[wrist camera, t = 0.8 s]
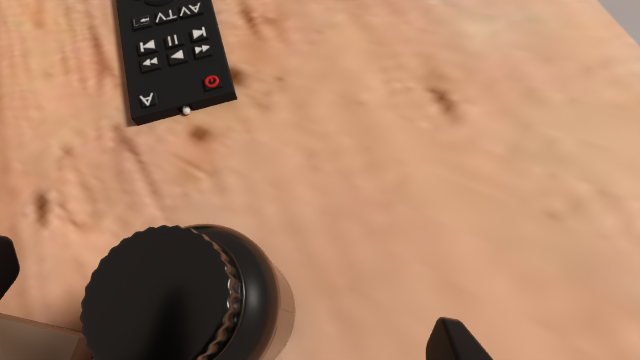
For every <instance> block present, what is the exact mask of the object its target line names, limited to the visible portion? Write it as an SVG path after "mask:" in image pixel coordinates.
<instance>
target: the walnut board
mask: <svg viewBox="0 0 640 360" xmlns="http://www.w3.org/2000/svg"><path fill="white" fill-rule="evenodd" d="M92 356H93V353H92V351H90V350H89V349H88V348H87V345H86V338H85V337H84V336H83V334H82V332H78V331H74V330H70V329H65V328H61V327H57V326H53V325H49V324H44V323H40V322H36V321H32V320H28V319H23V318H19V317H15V316H11V315H6V314H2V313H0V360H91V359H92Z"/></svg>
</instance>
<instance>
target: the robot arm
mask: <svg viewBox="0 0 640 360" xmlns="http://www.w3.org/2000/svg"><path fill="white" fill-rule="evenodd" d="M19 271H20V266H19V262H18V258H17V255H16V251H15V248H14V244H13V242H12V240H11V239H10V238H8V237H6V236H1V235H0V300H1V298H2V297H3V296H4V294H5V293H6V292H7V290H8V289H9V288H10V286H11V285H12V284H13V283H14V281H15V280H16V278H17V276H18V274H19ZM426 360H493V359H492V358H491V356H490V355H489V354H488V353H487V352H486V350H485V349H484V348H483V347H482V346H481V344H480V343H479V342H478V341H477V340H476V338H475V337H474V336H473V335H472V334H471V333H470V331H469V330H468V329H467V328H466V327H465V325H464V324H463V323H462V322H461V321H459V320H457V319H452V318H446V317H440V318H439V319H438V320H437V321H436V324H435V326H434V328H433V330H432V333H431V335H430V337H429V340H428V342H427V346H426Z"/></svg>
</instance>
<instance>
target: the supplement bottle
mask: <svg viewBox="0 0 640 360" xmlns="http://www.w3.org/2000/svg"><path fill="white" fill-rule="evenodd" d="M81 305H82V313H81V316H80V320H81V322H82V324H83V327H82V334H83V336H84V337H85V338H86V345H87V348H88V349H89V350H90V351H92V353H93V357H94V360H275V359H276V357H277V356H278V355H279V354H280V353H281V352H282V350H283V349H284V347H285V346H286V344H287V342H288V340H289V338H290V335H291V333H292V329H293V326H294V320H295V302H294V297H293V293H292V290H291V288H290V285H289V283H288V282H287V280H286V278H285V277H284V275H283V274H282V273H281V271H280V270H279V269H278V268H277V267H276V266H275V264H274V263H273V262H272V261H271V260H270V259H269V257H268V256H267V255H266V254H265V253H264V252H263V250H262V249H261V248H260V247H259V246H258V245H257V244H256V243H254V242H253V241H252V240H251V239H249V238H248V237H246V236H245V235H244V234H242V233H240V232H238V231H236V230H234V229H231V228H228V227H225V226H220V225H214V224H195V225H189V226H184V227H181V226H178V225H176V226H172V227H169V226H166V225H162V226H159V227H157V228H154V227H149V228H147V229H146V230H144V231H139V232H135V233H134V234H133V235H132V236H131V237H128V238H125V239H123V240H122V241H121V242H120V243H119V245H117V246H115V247H113V248H111V250H110V251H109V253H108V255H107V256H105V257H104V258H103V259H101V261H100V263H99V265H98V268H97V269H96V270H94V272H93V273H92V275H91V280H90V282H89V283H88V284H87V286H86V287H85V296H84V298H83V300H82V302H81Z"/></svg>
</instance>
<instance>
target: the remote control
mask: <svg viewBox="0 0 640 360" xmlns="http://www.w3.org/2000/svg"><path fill="white" fill-rule="evenodd" d="M116 2H117V10H118V17H119V25H120V33H121V40H122V48H123V56H124V64H125V71H126V79H127V87H128V95H129V102H130V110H131V118H132V120H133V121H134V122H135V123H136V124H137V125H138V126H139V125H143V124H146V123H150V122H154V121H158V120H161V119H165V118H169V117H173V116H176V115H180V111H183V113H184V114H186V115H188V114H190V109H192V108H193V109H194V110H199V109H203V108H206V107H210V106H214V105H218V104H221V103H225V102H229V101H232V100H236V99H237V97H236V93H235V89H234V85H233V81H232V77H231V74H230V70H229V66H228V62H227V58H226V54H225V51H224V47H223V43H222V39H221V35H220V31H219V27H218V24H217V20H216V16H215V12H214V8H213V4H212V1H211V0H116Z"/></svg>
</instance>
